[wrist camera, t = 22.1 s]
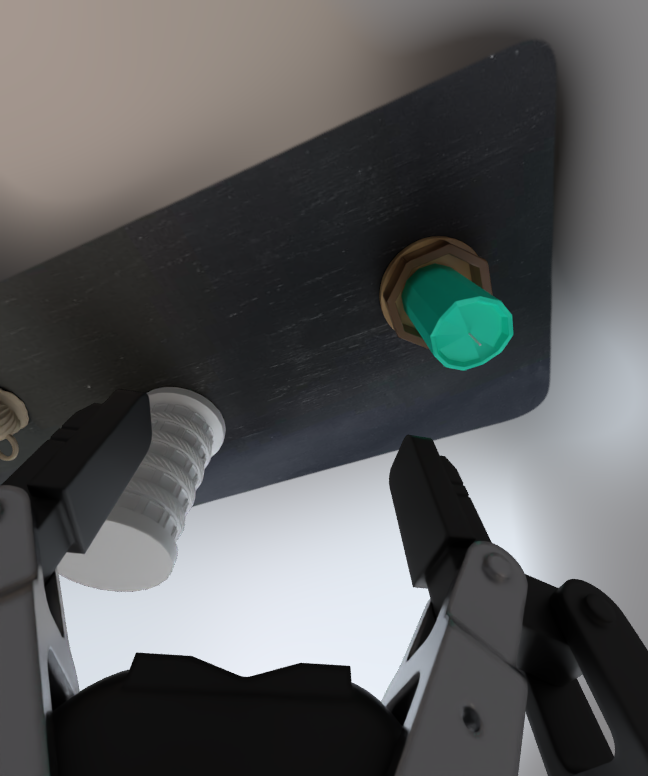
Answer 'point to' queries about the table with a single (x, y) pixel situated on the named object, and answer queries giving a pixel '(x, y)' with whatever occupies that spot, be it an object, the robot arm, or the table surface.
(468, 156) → the table surface
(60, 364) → the table surface
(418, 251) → the candle pad
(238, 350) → the table surface
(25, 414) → the decorative ornament
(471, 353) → the candle
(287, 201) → the table surface
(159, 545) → the decorative container
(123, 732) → the robot arm
